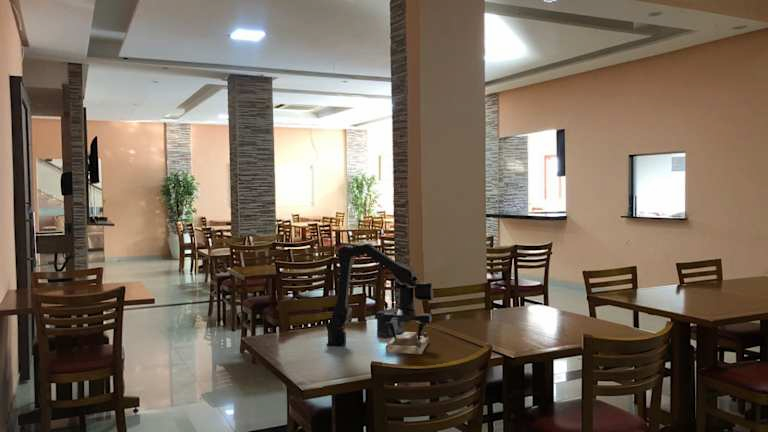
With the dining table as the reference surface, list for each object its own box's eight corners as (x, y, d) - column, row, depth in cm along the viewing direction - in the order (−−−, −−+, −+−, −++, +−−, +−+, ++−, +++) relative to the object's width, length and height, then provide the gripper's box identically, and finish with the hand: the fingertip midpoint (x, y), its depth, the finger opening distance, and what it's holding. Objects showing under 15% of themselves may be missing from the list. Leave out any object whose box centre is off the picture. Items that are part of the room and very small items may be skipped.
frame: (397, 351, 237) (396, 337, 236) (404, 344, 248) (404, 331, 248) (409, 352, 235) (409, 338, 235) (416, 344, 247) (416, 331, 247)
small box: (388, 338, 257) (388, 313, 257) (376, 336, 261) (375, 311, 261) (403, 333, 266) (403, 309, 265) (391, 332, 270) (390, 308, 269)
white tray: (385, 352, 234) (385, 342, 234) (395, 341, 252) (395, 331, 252) (421, 354, 231) (421, 343, 231) (428, 342, 249) (428, 332, 249)
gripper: (378, 302, 235) (379, 343, 236) (427, 303, 231) (427, 345, 232) (384, 298, 246) (385, 337, 247) (431, 299, 242) (431, 338, 243)
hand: (407, 339), depth 242 cm, fingers open, 9 cm apart
